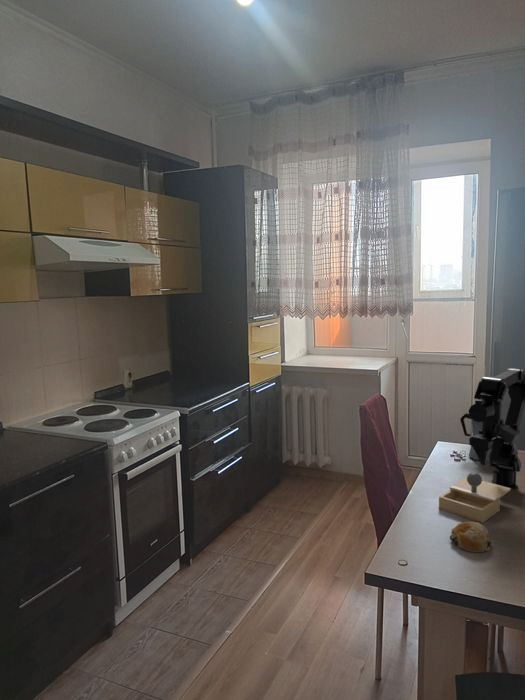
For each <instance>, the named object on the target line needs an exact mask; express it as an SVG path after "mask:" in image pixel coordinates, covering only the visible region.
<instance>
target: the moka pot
mask: <svg viewBox="0 0 525 700" xmlns="http://www.w3.org/2000/svg"><path fill="white" fill-rule="evenodd" d="M465 419H468V420H471V429H472V432H471V433H472V434H470V433H468V431H467V428H466V424H465ZM460 424H461V427H462V430H463V435H464V436H465V437H472V436H474V435H476V434H477V435H482V436H483V434H479V430H481V425H482V422H476V421H474V420H472V419H471V417H470V416H469V413H464V414H463V415H462V417H460ZM471 435H472V436H471ZM491 450H492V449H490V450H489V451H488V454H487V460H486V462H490V459H489V454H490V451H491ZM468 457H469V458H471V459H473V460H475V461H478V462H480V460H479V458H478V456H477V454H476V452H475V450H474V449H473V447H471V446H470V449H469V454H468Z"/></svg>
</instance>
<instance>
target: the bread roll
mask: <svg viewBox="0 0 525 700" xmlns="http://www.w3.org/2000/svg"><path fill="white" fill-rule="evenodd" d="M449 540H450V541H452V543H453V545H455V546H456V547H458V548H459V549H461V550H463V551H466V552H472V553H484V552H490V551H491V548H490V546H491V544H492V536H491V534H490V531H489V530H488V529H487V527H485V526H484V525H482V523H480V522H477V521H469V520H468V521H467V520H466V521H463V522H460V523H458V524H457V525H456V526H454V527H453V528H451V534H450V536H449Z"/></svg>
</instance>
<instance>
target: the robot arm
mask: <svg viewBox="0 0 525 700" xmlns="http://www.w3.org/2000/svg"><path fill="white" fill-rule="evenodd" d="M506 393H507V394H508V396H509V398H510V403H509V407H508V410H507V413H506V417H505V420H504V418H502V401H503V400H504V396H505V394H506ZM473 398H474V400H475V399H476V400H475V401H474V404H472V405H471V406H470V407H469V409H468V414H469V416H470V417H471V419H470V420H471V421H472V420H474V421H476V422H482V425H481V430H479V434H483V436H482V435H477V434H476V435H474V436H473V435H472V436H470V437H469V438H468V445H469V446H470V448H471V447H473V449H474V450H475V452H476V454H477V456H478V458H479V460H480V461H479V460H478V461H479V462H480V464H481V466H486V464H487V461H486V460H487V454H488V451H489V450H490V449H492V450H491V451H490V454H489V459H490V461H489V465H490V467H491V468H492V467H493V469H494V470H493V472H492V480H491V483H493V484H496V485H500V486H504V487H508V488H511V489H517V488H519V485H517V472H521V468H522V462H521V460H520V458H519V456H518V454H519V450H518V449H517V445H516V442H517V440H518V438H519V436H521V431H520V425H521V423H522V422H521V421H522V418H523V416H524V415H523V414H524V410H525V370H523V369H521V368H512V367H511V368H507V370H506V371H504V372H501V373H500V374H498V375H495V376H490V375H489V376H483V377H481V379H480V380H479V381H478V384H477V387H476V391H475V393H474V396H473Z"/></svg>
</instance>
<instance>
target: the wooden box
mask: <svg viewBox="0 0 525 700" xmlns="http://www.w3.org/2000/svg"><path fill="white" fill-rule="evenodd" d="M500 506H501V498H499V499H498V500H497V501H495V502H492V501H489V500H485V499H482V498H479V497H475V496H472V495H468V494H465V493H462V492H458V491H455V490H451V489H449V490H448V491H446V492H445V493H443V494H442V495H440V496H438V510H441V511H444V512H448V513H450V514H454V515H456V516H460V517H462V518H466V519H468V520H471V521H473V522H479V523H480V524H484V523H485V522H486V521H488V520H489V519H490V518H491V517H493V516H494V515H496V514H497V513H499V511H500V508H501V507H500Z"/></svg>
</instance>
